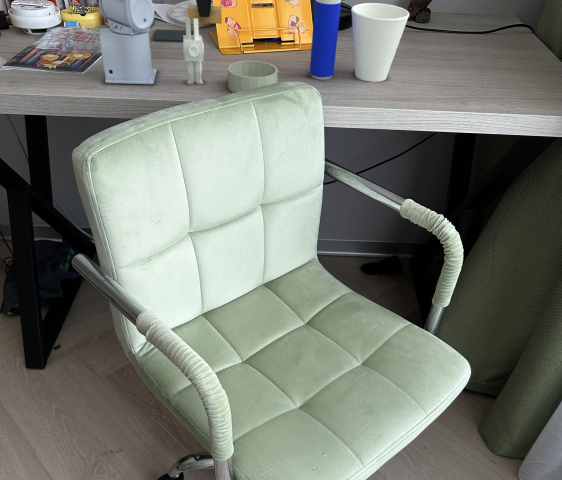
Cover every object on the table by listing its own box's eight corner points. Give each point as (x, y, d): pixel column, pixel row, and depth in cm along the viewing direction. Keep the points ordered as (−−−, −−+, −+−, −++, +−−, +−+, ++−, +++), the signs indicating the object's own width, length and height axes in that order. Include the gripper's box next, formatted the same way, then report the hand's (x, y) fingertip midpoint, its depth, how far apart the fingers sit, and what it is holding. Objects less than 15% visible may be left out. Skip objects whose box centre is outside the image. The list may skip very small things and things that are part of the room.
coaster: (153, 40, 135) (153, 39, 134) (156, 31, 140) (156, 29, 140) (192, 42, 135) (192, 40, 135) (193, 32, 141) (193, 30, 140)
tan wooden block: (188, 22, 122) (187, 8, 120) (189, 19, 124) (188, 5, 122) (221, 23, 123) (221, 9, 121) (221, 20, 125) (221, 6, 123)
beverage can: (318, 70, 126) (325, -10, 115) (337, 76, 124) (346, -5, 113) (304, 76, 123) (310, -6, 112) (323, 82, 121) (331, -1, 110)
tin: (228, 95, 113) (227, 77, 111) (228, 77, 120) (227, 59, 118) (278, 97, 114) (279, 78, 112) (275, 79, 121) (276, 61, 119)
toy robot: (186, 91, 114) (181, 22, 105) (184, 77, 119) (180, 11, 111) (206, 91, 115) (203, 23, 106) (203, 77, 120) (200, 11, 111)
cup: (332, 73, 125) (339, 7, 116) (368, 63, 131) (377, -1, 122) (373, 90, 119) (383, 22, 110) (409, 78, 125) (421, 13, 116)
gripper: (221, -57, 108) (223, 25, 118) (222, -71, 118) (224, 5, 128) (183, -59, 107) (188, 23, 117) (188, -73, 118) (192, 4, 127)
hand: (204, 14), depth 122 cm, fingers closed on tan wooden block, 2 cm apart
